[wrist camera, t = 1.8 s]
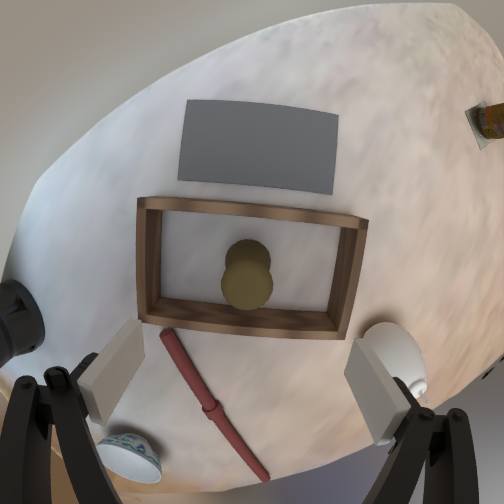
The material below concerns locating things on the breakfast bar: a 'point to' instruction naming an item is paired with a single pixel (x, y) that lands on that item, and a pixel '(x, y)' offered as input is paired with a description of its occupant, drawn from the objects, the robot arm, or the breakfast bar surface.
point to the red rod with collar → (209, 402)
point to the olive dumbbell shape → (247, 275)
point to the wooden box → (227, 316)
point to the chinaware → (130, 457)
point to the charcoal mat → (258, 145)
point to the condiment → (487, 122)
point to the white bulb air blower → (399, 355)
